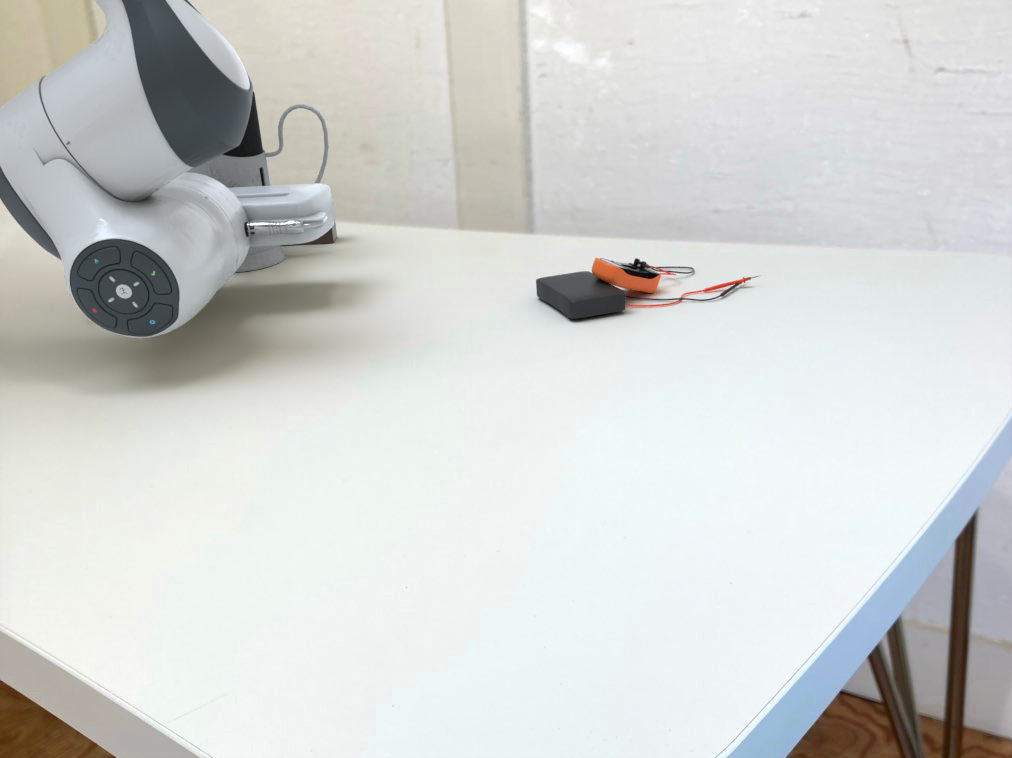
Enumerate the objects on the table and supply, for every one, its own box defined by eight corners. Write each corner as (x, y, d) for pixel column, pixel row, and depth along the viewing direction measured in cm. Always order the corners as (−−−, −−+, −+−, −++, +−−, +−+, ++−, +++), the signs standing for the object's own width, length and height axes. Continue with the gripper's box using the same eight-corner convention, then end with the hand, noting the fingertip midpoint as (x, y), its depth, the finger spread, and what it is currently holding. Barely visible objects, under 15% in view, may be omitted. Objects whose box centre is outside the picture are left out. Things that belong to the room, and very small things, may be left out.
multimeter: (710, 258, 95) (712, 219, 94) (777, 293, 85) (780, 250, 83) (518, 283, 91) (517, 243, 89) (564, 323, 81) (563, 279, 79)
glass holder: (200, 253, 106) (170, 92, 99) (342, 242, 107) (323, 83, 100) (187, 276, 98) (153, 104, 91) (341, 264, 100) (320, 93, 92)
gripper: (315, 186, 82) (342, 154, 94) (54, 199, 82) (114, 166, 95) (326, 267, 85) (351, 226, 97) (74, 279, 85) (130, 237, 98)
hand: (232, 197), depth 96 cm, fingers closed
